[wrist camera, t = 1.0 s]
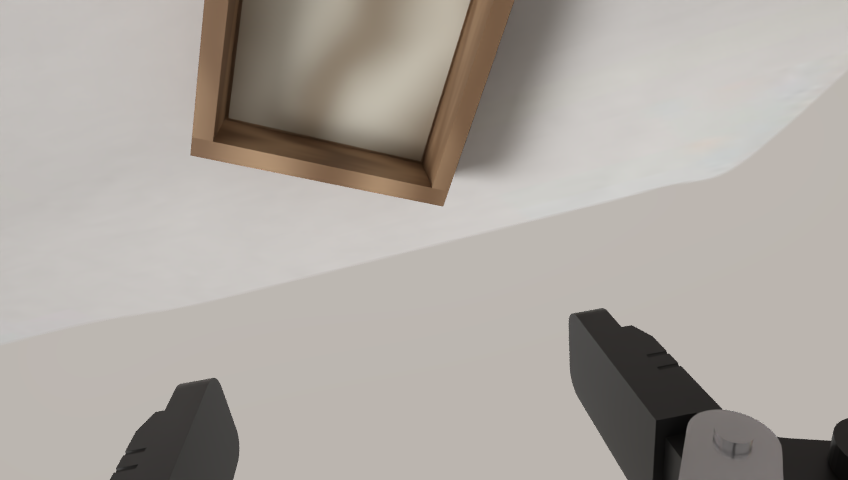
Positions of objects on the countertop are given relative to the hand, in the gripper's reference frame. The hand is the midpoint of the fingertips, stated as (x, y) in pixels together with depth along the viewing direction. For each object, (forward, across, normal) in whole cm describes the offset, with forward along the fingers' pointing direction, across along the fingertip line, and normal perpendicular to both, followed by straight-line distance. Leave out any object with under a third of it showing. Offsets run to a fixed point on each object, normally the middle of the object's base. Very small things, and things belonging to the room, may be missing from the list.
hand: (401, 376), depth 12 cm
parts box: (+22, 0, -7) cm, 23 cm away
